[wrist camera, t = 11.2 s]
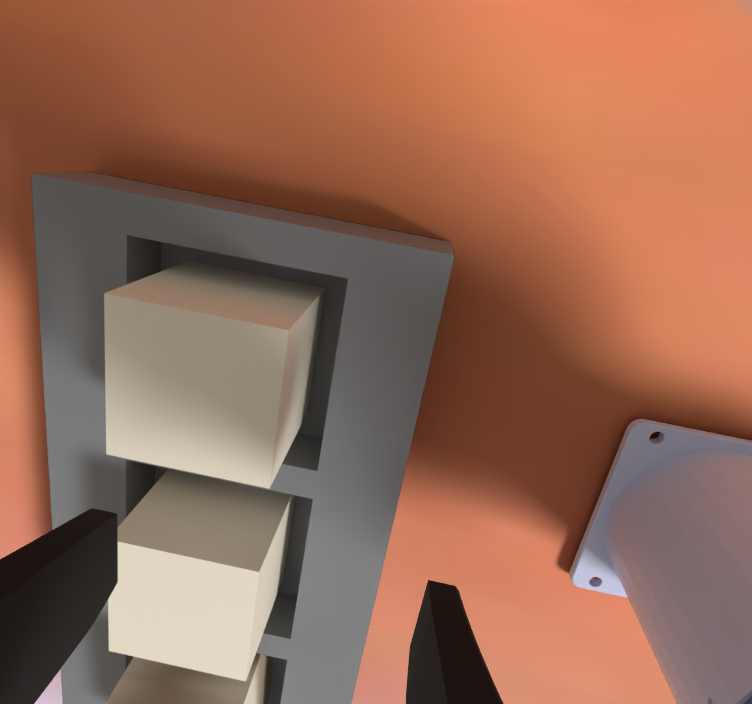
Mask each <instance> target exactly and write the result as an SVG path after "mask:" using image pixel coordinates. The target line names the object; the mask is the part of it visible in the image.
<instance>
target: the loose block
mask: <svg viewBox="0 0 752 704" xmlns="http://www.w3.org/2000/svg"><path fill="white" fill-rule="evenodd" d="M271 665H272V657H271V656H267V655H262V654H258V653H256V655H255V657H254V660H253V663H252V666H251V669H250V671H249V674H248V677H247V680H246V681H241V680H237V679H232V678H228V677H223V676H219V675H214V674H210V673H205V672H201V671H196V670H192V669H188V668H183V667H179V666H174V665H170V664H165V663H161V662H156V661H152V660H147V659H143V658H138V657H133V659H132V660H131V662H130V664H129V665H128V667H127V669H126V670H125V672H124V674H123V675H122V677H121V679H120V680H119V682H118V684H117V685H116V687H115V689H114V690H113V692H112V694H111V695H110V697H109V698H108V700H107V702H106V703H105V704H266V703H267V700H268V697H269V693H270V683H271Z"/></svg>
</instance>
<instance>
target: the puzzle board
mask: <svg viewBox="0 0 752 704" xmlns="http://www.w3.org/2000/svg"><path fill="white" fill-rule="evenodd" d="M31 185H32V201H33V218H34V234H35V251H36V267H37V284H38V301H39V317H40V334H41V350H42V367H43V383H44V400H45V416H46V433H47V449H48V466H49V482H50V499H51V516H52V530H54V529H55V528H57V527H59V526H61V525H62V524H64V523H66V522H68V521H69V520H71V519H73V518H75V517H76V516H78V515H80V514H82V513H84V512H85V511H87V510H89V509H91V508H94V509H98V510H103V511H108V512H112V513H117V523H118V583H117V585H116V586H115V588H114V590H113V592H112V593H111V595H110V597H109V599H108V600H107V602H106V604H105V606H104V607H103V609H102V611H101V612H100V614H99V615H98V617H97V619H96V620H95V622H94V624H93V625H92V627H91V628H90V630H89V631H88V632H87V634H86V635H85V637H84V638H83V639H82V641H81V642H80V643H79V645H78V646H77V647H76V649H75V650H74V651H73V653H72V654H71V655H70V657H69V658H68V659H67V661H66V662H65V663H64V665H63V666H62V667H61V681H62V698H63V704H105V703H106V702H107V700H108V698H109V697H110V695H111V694H112V692H113V690H114V689H115V687H116V685H117V684H118V682H119V680H120V679H121V677H122V675H123V674H124V672H125V670H126V669H127V667H128V665H129V664H130V662H131V660H132V659H133V657H138V658H143V659H147V660H152V661H156V662H161V663H165V664H170V665H174V666H179V667H183V668H188V669H192V670H196V671H201V672H205V673H210V674H214V675H219V676H223V677H228V678H232V679H237V680H241V681H246V680H247V677H248V674H249V671H250V669H251V666H252V663H253V660H254V657H255V655H256V653H258V654H262V655H267V656H271V657H272V665H271V683H270V693H269V697H268V700H267V703H266V704H351V702H352V698H353V693H354V689H355V685H356V680H357V676H358V672H359V667H360V663H361V659H362V655H363V650H364V646H365V642H366V637H367V633H368V629H369V624H370V620H371V616H372V611H373V607H374V603H375V598H376V594H377V590H378V585H379V581H380V577H381V572H382V568H383V564H384V559H385V555H386V551H387V546H388V542H389V538H390V533H391V529H392V525H393V520H394V516H395V512H396V508H397V503H398V499H399V495H400V490H401V486H402V482H403V477H404V473H405V469H406V464H407V460H408V456H409V451H410V447H411V443H412V438H413V434H414V430H415V425H416V421H417V417H418V412H419V408H420V404H421V399H422V395H423V391H424V386H425V382H426V378H427V373H428V369H429V365H430V360H431V356H432V352H433V347H434V343H435V339H436V335H437V330H438V326H439V322H440V317H441V313H442V309H443V304H444V300H445V296H446V291H447V287H448V283H449V278H450V274H451V270H452V265H453V261H454V257H455V254H454V251H453V248H452V244H451V242H450V241H445V240H440V239H434V238H429V237H424V236H419V235H414V234H408V233H403V232H398V231H393V230H388V229H383V228H377V227H372V226H367V225H362V224H357V223H352V222H346V221H341V220H336V219H331V218H326V217H321V216H315V215H310V214H305V213H300V212H295V211H290V210H284V209H279V208H274V207H269V206H264V205H259V204H253V203H248V202H243V201H238V200H233V199H227V198H222V197H217V196H212V195H207V194H202V193H196V192H191V191H186V190H181V189H176V188H171V187H165V186H160V185H155V184H150V183H145V182H140V181H134V180H129V179H124V178H119V177H114V176H109V175H103V174H98V173H93V172H80V173H31Z"/></svg>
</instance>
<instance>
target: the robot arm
mask: <svg viewBox="0 0 752 704" xmlns="http://www.w3.org/2000/svg"><path fill="white" fill-rule="evenodd" d="M654 432H660V434H659V436H658V437H657V438H654V439H650V436H651V434H652V433H654ZM569 575H570V578H571V581H572V583H573V584H574V585H575V586H577V587H579V588H584V589H589V590H593V591H598V592H603V593H607V594H612V595H617V596H621V597H626V598H628V599H629V601H630V603H631V605H632V607H633V609H634V612H635V614H636V616H637V618H638V620H639V622H640V625H641V627H642V629H643V631H644V633H645V635H646V638H647V640H648V642H649V644H650V646H651V648H652V650H653V653H654V655H655V657H656V659H657V661H658V663H659V666H660V668H661V670H662V672H663V674H664V676H665V679H666V681H667V683H668V685H669V687H670V689H671V691H672V694H673V696H674V698H675V700H676V702H677V704H752V441H751V440H746V439H741V438H736V437H731V436H726V435H721V434H716V433H711V432H706V431H701V430H696V429H691V428H686V427H681V426H676V425H671V424H667V423H662V422H657V421H652V420H647V419H637V420H634V421H633V422H631V423H630V424H629V425H628V427H627V429H626V431H625V434H624V436H623V439H622V441H621V444H620V446H619V449H618V451H617V454H616V456H615V459H614V461H613V464H612V466H611V469H610V471H609V474H608V476H607V479H606V481H605V484H604V486H603V489H602V491H601V494H600V496H599V499H598V501H597V504H596V506H595V509H594V511H593V514H592V516H591V519H590V521H589V524H588V526H587V529H586V531H585V534H584V536H583V539H582V541H581V544H580V546H579V549H578V551H577V554H576V556H575V559H574V561H573V564H572V566H571V569H570V573H569ZM593 577H598V578H597V579H595V580H590V579H591V578H593ZM117 583H118V523H117V513H112V512H108V511H103V510H98V509H94V508H91V509H89V510H87V511H85V512H84V513H82V514H80V515H78V516H76V517H75V518H73V519H71V520H69V521H68V522H66V523H64V524H62V525H61V526H59V527H57V528H55V529H54V530H52V531H50V532H48V533H47V534H45V535H43V536H41V537H40V538H38V539H36V540H34V541H33V542H31V543H29V544H27V545H25V546H24V547H22V548H20V549H18V550H16V551H15V552H13V553H11V554H9V555H7V556H6V557H4V558H2V559H0V704H34V703H35V702H36V700H37V699H38V698H39V696H40V695H41V694H42V692H43V691H44V690H45V689H46V687H47V686H48V685H49V683H50V682H51V681H52V679H53V678H54V677H55V675H56V674H57V673H58V671H59V670H60V669H61V667H62V666H63V665H64V663H65V662H66V661H67V659H68V658H69V657H70V655H71V654H72V653H73V651H74V650H75V649H76V647H77V646H78V645H79V643H80V642H81V641H82V639H83V638H84V637H85V635H86V634H87V632H88V631H89V630H90V628H91V627H92V625H93V624H94V622H95V620H96V619H97V617H98V615H99V614H100V612H101V611H102V609H103V607H104V606H105V604H106V602H107V600H108V599H109V597H110V595H111V593H112V592H113V590H114V588H115V586H116V585H117ZM406 704H503V702H502V700H501V698H500V695H499V693H498V691H497V689H496V687H495V684H494V682H493V680H492V678H491V675H490V673H489V671H488V668H487V666H486V664H485V661H484V659H483V657H482V654H481V652H480V649H479V647H478V644H477V642H476V639H475V637H474V634H473V631H472V629H471V626H470V623H469V621H468V618H467V615H466V612H465V609H464V606H463V603H462V600H461V597H460V593H459V591H458V589H457V588H456V586H453V585H448V584H444V583H439V582H434V581H430V580H428V583H427V587H426V591H425V594H424V598H423V601H422V605H421V609H420V612H419V616H418V620H417V623H416V627H415V630H414V634H413V638H412V641H411V645H410V654H409V665H408V677H407V690H406Z"/></svg>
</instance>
